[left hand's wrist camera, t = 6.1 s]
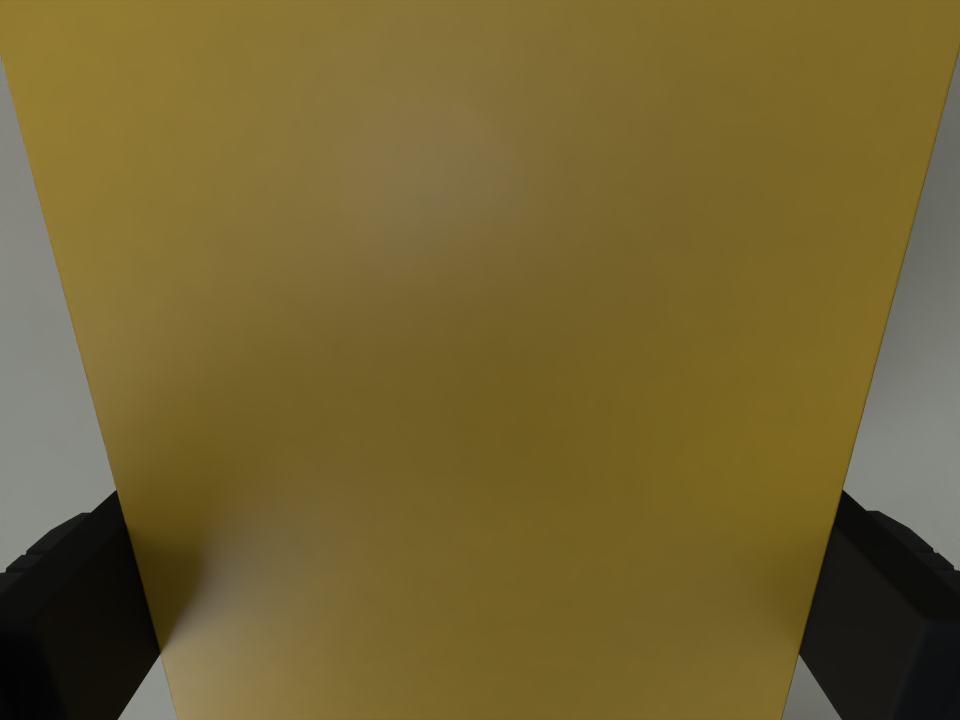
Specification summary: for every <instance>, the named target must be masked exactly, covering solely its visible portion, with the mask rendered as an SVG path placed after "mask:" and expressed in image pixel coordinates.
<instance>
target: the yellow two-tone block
mask: <svg viewBox="0 0 960 720" xmlns="http://www.w3.org/2000/svg"><path fill="white" fill-rule="evenodd" d="M959 49H960V0H0V54H1V58H2V62H3V65H4V69H5V73H6V77H7V80H8V84H9V88H10V92H11V95H12V99H13V103H14V107H15V110H16V114H17V118H18V122H19V125H20V129H21V133H22V137H23V141H24V144H25V148H26V152H27V156H28V159H29V163H30V167H31V171H32V174H33V178H34V182H35V186H36V189H37V193H38V197H39V201H40V204H41V208H42V212H43V216H44V219H45V223H46V227H47V231H48V234H49V238H50V242H51V246H52V249H53V253H54V257H55V261H56V264H57V268H58V272H59V276H60V279H61V283H62V287H63V291H64V294H65V298H66V302H67V306H68V309H69V313H70V317H71V321H72V324H73V328H74V332H75V336H76V339H77V343H78V347H79V351H80V354H81V358H82V362H83V366H84V369H85V373H86V377H87V381H88V384H89V388H90V392H91V396H92V399H93V403H94V407H95V411H96V414H97V418H98V422H99V426H100V429H101V433H102V437H103V441H104V444H105V448H106V452H107V456H108V459H109V463H110V467H111V471H112V475H113V478H114V482H115V486H116V490H117V493H118V497H119V501H120V505H121V508H122V512H123V516H124V520H125V523H126V527H127V531H128V535H129V538H130V542H131V546H132V550H133V553H134V557H135V561H136V565H137V568H138V572H139V576H140V580H141V583H142V587H143V591H144V595H145V598H146V602H147V606H148V610H149V613H150V617H151V621H152V625H153V628H154V632H155V636H156V640H157V643H158V647H159V651H160V655H161V658H162V662H163V666H164V670H165V673H166V677H167V681H168V685H169V688H170V692H171V696H172V700H173V703H174V707H175V711H176V715H177V718H178V720H781V719H782V716H783V712H784V708H785V704H786V701H787V697H788V693H789V689H790V686H791V682H792V678H793V674H794V670H795V667H796V663H797V659H798V655H799V652H800V648H801V644H802V640H803V637H804V633H805V629H806V625H807V622H808V618H809V614H810V610H811V606H812V603H813V599H814V595H815V591H816V588H817V584H818V580H819V576H820V573H821V569H822V565H823V561H824V557H825V554H826V550H827V546H828V542H829V539H830V535H831V531H832V527H833V524H834V520H835V516H836V512H837V509H838V505H839V501H840V497H841V493H842V490H843V486H844V482H845V478H846V475H847V471H848V467H849V463H850V460H851V456H852V452H853V448H854V445H855V441H856V437H857V433H858V429H859V426H860V422H861V418H862V414H863V411H864V407H865V403H866V399H867V396H868V392H869V388H870V384H871V380H872V377H873V373H874V369H875V365H876V362H877V358H878V354H879V350H880V347H881V343H882V339H883V335H884V332H885V328H886V324H887V320H888V316H889V313H890V309H891V305H892V301H893V298H894V294H895V290H896V286H897V283H898V279H899V275H900V271H901V268H902V264H903V260H904V256H905V252H906V249H907V245H908V241H909V237H910V234H911V230H912V226H913V222H914V219H915V215H916V211H917V207H918V203H919V200H920V196H921V192H922V188H923V185H924V181H925V177H926V173H927V170H928V166H929V162H930V158H931V155H932V151H933V147H934V143H935V139H936V136H937V132H938V128H939V124H940V121H941V117H942V113H943V109H944V106H945V102H946V98H947V94H948V91H949V87H950V83H951V79H952V75H953V72H954V68H955V64H956V60H957V57H958V53H959Z"/></svg>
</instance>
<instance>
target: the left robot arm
mask: <svg viewBox="0 0 960 720" xmlns="http://www.w3.org/2000/svg"><path fill="white" fill-rule="evenodd" d="M159 655H160V651H159V647H158V643H157V640H156V636H155V632H154V628H153V625H152V621H151V617H150V613H149V610H148V606H147V602H146V598H145V595H144V591H143V587H142V583H141V580H140V576H139V572H138V568H137V565H136V561H135V557H134V553H133V550H132V546H131V542H130V538H129V535H128V531H127V527H126V523H125V520H124V516H123V512H122V508H121V505H120V501H119V497H118V493H117V490H116V491H114V492H113V493H112V494H111V495H110V496H109V497H108V498H107V499H106V500H104V501H103V502H102V503H101V504H100V505H99V506H98V507H97V508H96V509H94V510H93V511H92V512H91V513H81V514H79V515H77V516H75V517H73V518H72V519H70V520H68V521H66V522H64V523H63V524H61V525H59V526H57V527H55V528H54V529H52V530H50V531H49V532H48V533H47V534H46V535H44V536H43V537H42V538H41V539H40V540H38V541H37V542H36V543H35V544H34V545H33V546H31V547H30V548H29V549H28V550H27V551H26V555H21V556H20V557H19V558H17V559H16V560H15V561H14V562H13V563H12V564H10V565H9V566H8V567H7V568H6V572H5V573H0V720H118V718H119V717H120V715H121V714H122V712H123V710H124V709H125V707H126V706H127V704H128V703H129V701H130V700H131V698H132V697H133V695H134V694H135V692H136V690H137V689H138V687H139V686H140V684H141V683H142V681H143V680H144V678H145V677H146V675H147V674H148V672H149V671H150V669H151V667H152V666H153V664H154V663H155V661H156V660H157V658H158V657H159ZM799 655H800V656H801V658H802V659H803V661H804V662H805V664H806V665H807V667H808V668H809V670H810V671H811V673H812V674H813V676H814V678H815V679H816V681H817V682H818V684H819V685H820V687H821V688H822V690H823V691H824V693H825V694H826V696H827V698H828V699H829V701H830V702H831V704H832V705H833V707H834V708H835V710H836V711H837V713H838V714H839V716H840V718H841V719H842V720H960V571H959V570H954V566H953V565H952V564H951V563H950V562H949V561H947V560H946V559H945V558H944V557H943V556H941V555H940V554H939V553H934V551H933V548H932V547H931V546H930V545H929V544H927V543H926V542H925V541H924V540H923V539H921V538H920V537H919V536H918V535H917V534H916V533H914V532H913V531H912V530H911V529H910V528H908V527H906V526H904V525H903V524H901V523H899V522H897V521H895V520H894V519H892V518H890V517H888V516H886V515H885V514H883V513H881V512H879V511H866V510H865V509H864V508H863V507H862V506H860V505H859V504H858V503H857V502H856V501H855V500H854V499H853V498H852V497H850V496H849V495H848V494H847V493H846V492H845V491H844V490H842V493H841V497H840V501H839V505H838V509H837V512H836V516H835V520H834V524H833V527H832V531H831V535H830V539H829V542H828V546H827V550H826V554H825V557H824V561H823V565H822V569H821V573H820V576H819V580H818V584H817V588H816V591H815V595H814V599H813V603H812V606H811V610H810V614H809V618H808V622H807V625H806V629H805V633H804V637H803V640H802V644H801V648H800V652H799Z"/></svg>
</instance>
